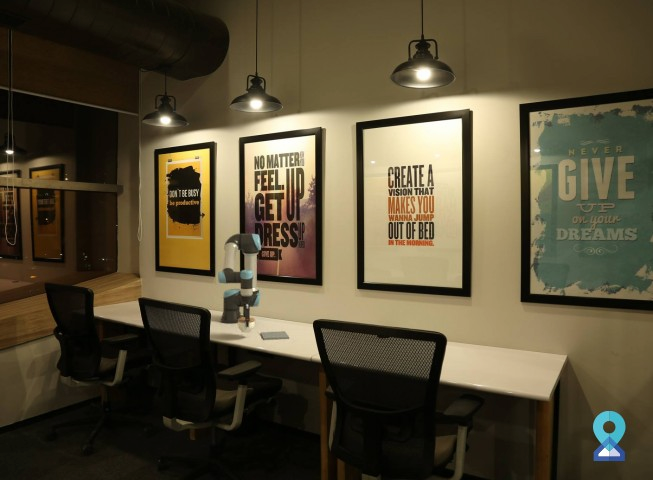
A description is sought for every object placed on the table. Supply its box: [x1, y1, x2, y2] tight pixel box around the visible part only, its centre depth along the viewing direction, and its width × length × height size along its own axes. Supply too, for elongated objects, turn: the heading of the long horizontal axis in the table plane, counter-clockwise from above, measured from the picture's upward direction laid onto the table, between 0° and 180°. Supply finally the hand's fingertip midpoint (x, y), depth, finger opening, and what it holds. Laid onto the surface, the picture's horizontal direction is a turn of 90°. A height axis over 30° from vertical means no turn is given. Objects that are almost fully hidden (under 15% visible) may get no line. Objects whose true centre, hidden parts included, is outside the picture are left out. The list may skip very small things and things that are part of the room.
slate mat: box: [260, 330, 290, 341], centre depth 305 cm, size 16×16×1 cm
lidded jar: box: [237, 316, 256, 333], centre depth 300 cm, size 11×11×9 cm
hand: (246, 329), depth 300 cm, fingers closed on lidded jar, 11 cm apart
